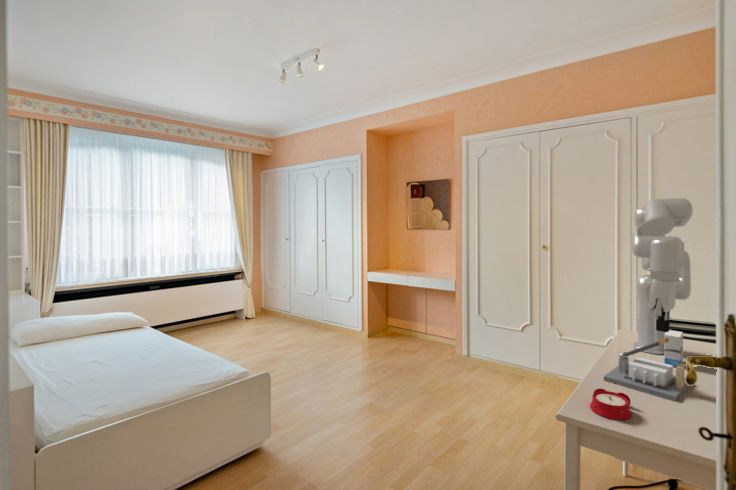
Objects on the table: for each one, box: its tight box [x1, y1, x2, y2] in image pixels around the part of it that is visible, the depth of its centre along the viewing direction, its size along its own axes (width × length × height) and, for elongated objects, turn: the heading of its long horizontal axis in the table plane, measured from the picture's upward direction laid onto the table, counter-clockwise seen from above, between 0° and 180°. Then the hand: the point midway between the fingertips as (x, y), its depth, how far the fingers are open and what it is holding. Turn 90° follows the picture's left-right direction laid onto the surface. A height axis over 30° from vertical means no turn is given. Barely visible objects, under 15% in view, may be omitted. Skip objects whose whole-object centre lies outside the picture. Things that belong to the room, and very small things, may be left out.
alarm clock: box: [589, 387, 632, 421], centre depth 114 cm, size 10×6×15 cm
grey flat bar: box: [619, 338, 670, 359], centre depth 130 cm, size 16×4×2 cm
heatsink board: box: [603, 356, 690, 402], centre depth 130 cm, size 18×20×8 cm
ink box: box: [663, 329, 684, 368], centre depth 145 cm, size 9×5×12 cm, turn 135°
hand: (662, 330), depth 126 cm, fingers closed
